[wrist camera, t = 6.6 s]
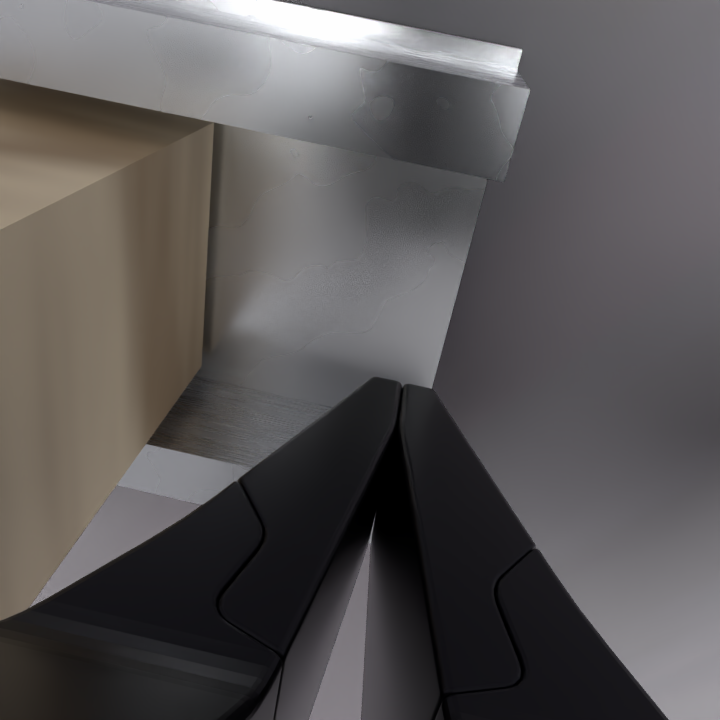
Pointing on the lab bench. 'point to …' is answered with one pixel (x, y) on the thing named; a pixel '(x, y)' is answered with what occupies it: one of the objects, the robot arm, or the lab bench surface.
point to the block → (89, 307)
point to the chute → (295, 197)
